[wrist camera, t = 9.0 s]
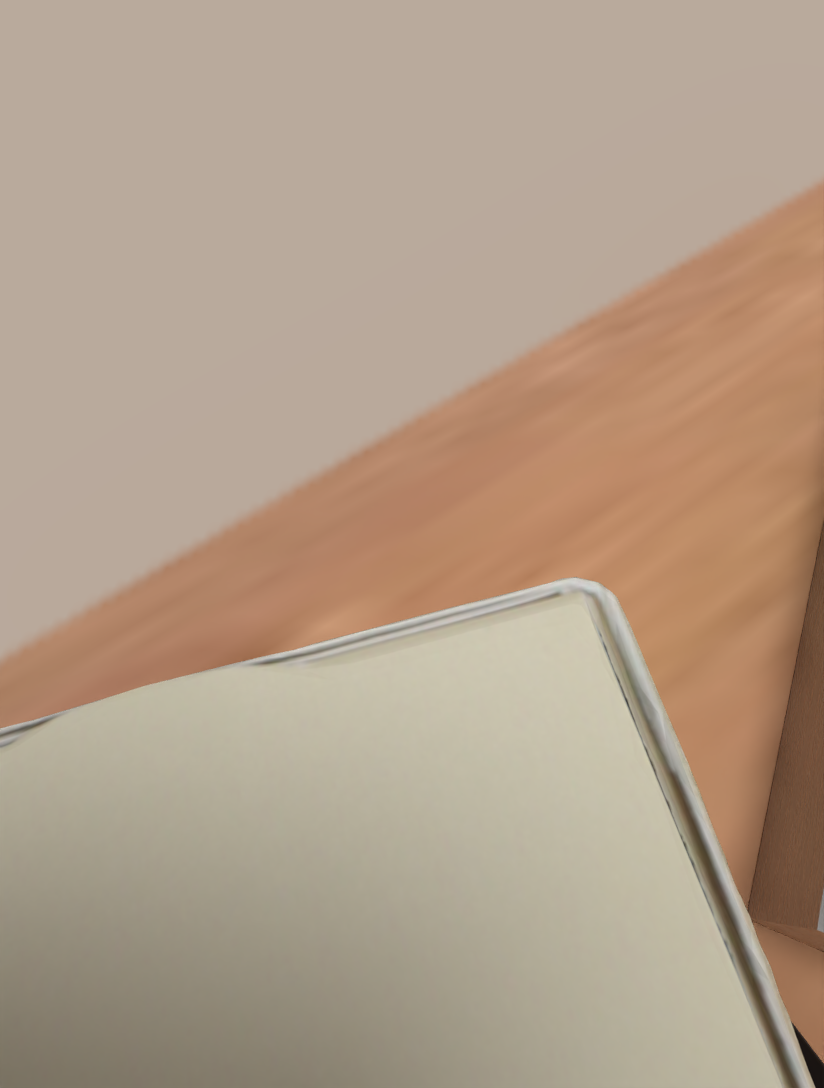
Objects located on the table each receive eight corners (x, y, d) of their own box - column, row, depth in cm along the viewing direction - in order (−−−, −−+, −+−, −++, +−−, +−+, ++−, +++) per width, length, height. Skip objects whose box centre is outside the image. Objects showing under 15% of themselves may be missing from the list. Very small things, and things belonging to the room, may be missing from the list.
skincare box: (269, 1101, 13) (-778, 2199, 2) (240, 861, 15) (-390, 814, 4) (586, 1008, 13) (1072, 1599, 2) (517, 784, 15) (608, 545, 4)
